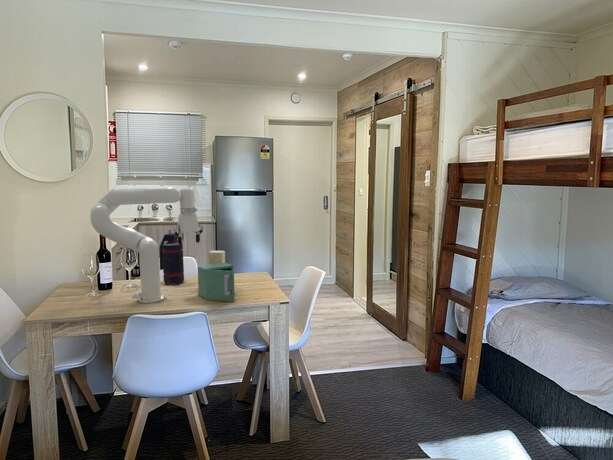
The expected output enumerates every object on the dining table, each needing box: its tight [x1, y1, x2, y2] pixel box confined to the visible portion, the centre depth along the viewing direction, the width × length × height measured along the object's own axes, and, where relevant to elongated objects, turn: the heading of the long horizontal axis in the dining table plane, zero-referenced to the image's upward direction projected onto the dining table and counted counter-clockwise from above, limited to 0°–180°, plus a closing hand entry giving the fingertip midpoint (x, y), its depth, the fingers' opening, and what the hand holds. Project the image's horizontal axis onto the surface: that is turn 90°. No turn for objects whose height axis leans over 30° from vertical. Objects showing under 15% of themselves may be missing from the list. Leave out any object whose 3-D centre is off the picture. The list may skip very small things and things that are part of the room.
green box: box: [205, 270, 236, 303], centre depth 225 cm, size 6×16×16 cm, turn 71°
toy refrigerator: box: [207, 250, 226, 265], centre depth 256 cm, size 8×7×21 cm
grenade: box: [158, 232, 185, 286], centre depth 267 cm, size 14×12×30 cm
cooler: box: [197, 262, 234, 300], centre depth 239 cm, size 10×16×16 cm, turn 126°
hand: (189, 243), depth 237 cm, fingers open, 9 cm apart
